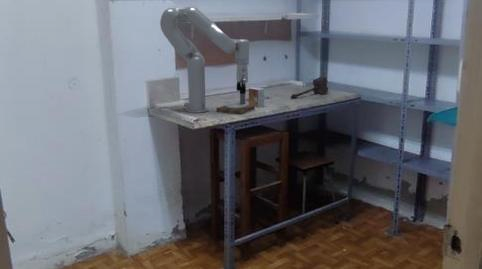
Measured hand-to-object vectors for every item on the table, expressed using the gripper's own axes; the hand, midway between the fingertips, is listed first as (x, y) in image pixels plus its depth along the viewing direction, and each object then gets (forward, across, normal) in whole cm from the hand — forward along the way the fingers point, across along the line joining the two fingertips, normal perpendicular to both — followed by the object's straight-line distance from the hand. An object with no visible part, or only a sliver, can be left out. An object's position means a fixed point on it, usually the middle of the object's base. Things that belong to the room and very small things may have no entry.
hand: (240, 92), depth 282 cm
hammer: (+9, +35, -53) cm, 64 cm away
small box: (+10, +11, -12) cm, 19 cm away
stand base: (+11, 0, +3) cm, 11 cm away
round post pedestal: (+9, 0, +3) cm, 9 cm away
